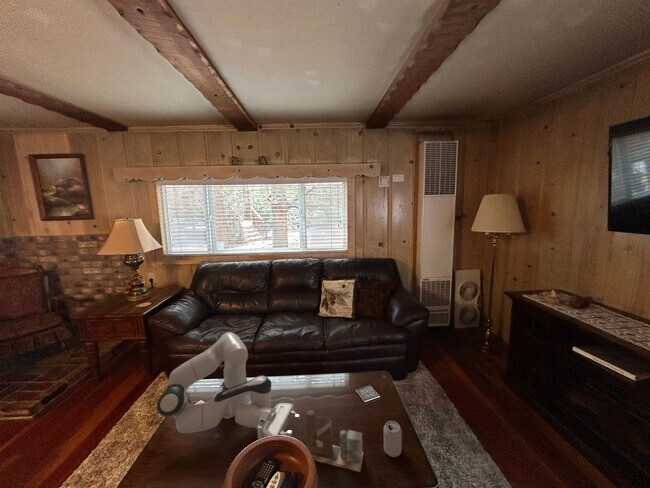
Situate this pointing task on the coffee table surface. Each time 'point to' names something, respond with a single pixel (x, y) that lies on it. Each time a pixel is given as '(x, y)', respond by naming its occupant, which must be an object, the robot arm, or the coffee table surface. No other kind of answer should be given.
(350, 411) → the coffee table surface
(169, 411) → the robot arm
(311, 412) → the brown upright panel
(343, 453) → the hinge jig
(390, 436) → the can
